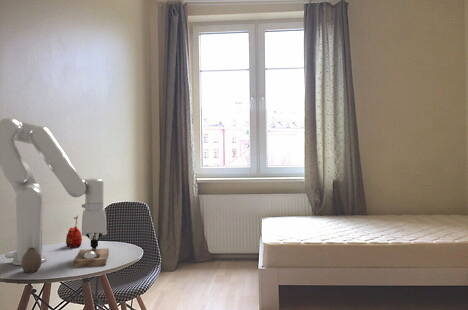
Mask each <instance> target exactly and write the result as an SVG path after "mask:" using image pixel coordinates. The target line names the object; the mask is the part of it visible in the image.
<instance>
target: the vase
mask: <svg viewBox="0 0 468 310" xmlns="http://www.w3.org/2000/svg"><path fill="white" fill-rule="evenodd" d="M41 261H42V260H41V256H40V254H39V253H38V252H37V251H36V249H35V248H28V250H27V252H26V253H25V254H24V255H23V257H22V261H21V265H20V266H21V269H22V270H23V271H24V272H25V273H36V272H37V271H39V270H40V268H41V266H42V263H41Z"/></svg>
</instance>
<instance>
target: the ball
mask: <svg viewBox="0 0 468 310" xmlns="http://www.w3.org/2000/svg"><path fill="white" fill-rule="evenodd" d="M83 258H84V259H95V258H96V254H95V252H93V251H88V252H86V253H85V254H84V257H83Z"/></svg>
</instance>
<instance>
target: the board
mask: <svg viewBox="0 0 468 310" xmlns="http://www.w3.org/2000/svg"><path fill="white" fill-rule="evenodd" d="M88 251H93V252H95V254H96V258H95V259H84V258H83V257H84V254H85V253H86V252H88ZM109 251H110V250H109V248H108V247H107V248H105V247H104V248H96V249H92V248H88V249H87V248H86V249H79V251H78V252H77V254H76V256H75V259H74V260H73V267H74V268H79V267H80V268H83V267H97V266H98V267H100V266H106V265H107V262H108V259H109V253H110V252H109Z"/></svg>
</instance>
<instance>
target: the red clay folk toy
mask: <svg viewBox="0 0 468 310" xmlns="http://www.w3.org/2000/svg"><path fill="white" fill-rule="evenodd" d="M78 218H79V215H77V216H74V218H73V219H74V220H75V226H74V227H70V228H69V229H68V233H66V239H65V241H66V242H65V244H66V247H68V248H72V249H76V248H78V247H80V246H82V240H83V238H82V237H83V236H82V235H81V233H82V231H80V229H79V228H78V226H77V224H78Z"/></svg>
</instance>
